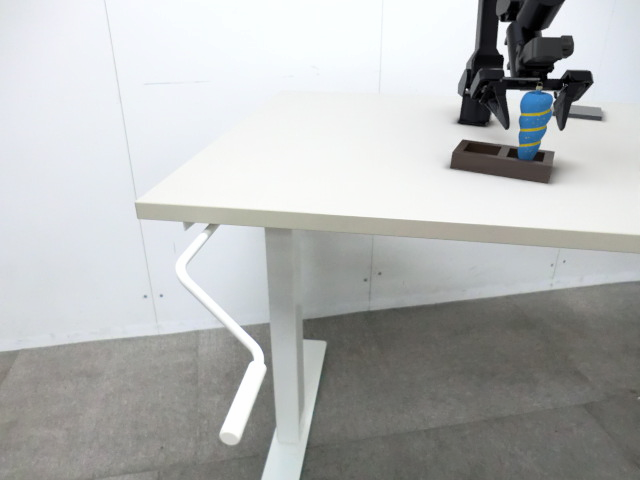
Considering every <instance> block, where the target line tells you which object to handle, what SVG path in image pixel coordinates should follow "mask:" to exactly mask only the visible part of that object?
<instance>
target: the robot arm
mask: <svg viewBox="0 0 640 480" xmlns="http://www.w3.org/2000/svg"><path fill="white" fill-rule="evenodd" d="M565 2H566V0H478V2H477V14H476V15H477V16H476V25H475V26H476V27H475V28H476V30H475V40H474V51H473V53H472V54H471V55H470V57H469V58H468V60H467V61H466V64H465V68H464V70H463V72H462V75H461V77H460V79H459V81H458V83H457V94H458V95H459V96H460V97H461V105H460V110H459V111H460V112H459V118H458V119H457V122H456V123H458V124H462V125H463V124H465V125H473V126H481V127H486V126H487V125H488V124H489V123H490V122H491V120H492V116H493V115H494V117H495V118H496V120H497V121H498V122H499V123H500V125H501V126H502V127H503V129H504V130H505V131H508V130H510V127H511V120H510V112H509V106H508V101H507V100H508V99H507V91H519V92H530V91H536V87H537V86H541V87H542V91H541V92H548V93H549V92H550V93H551V92H552V93H553V99H555V100H553V103H552V106H553V110H554V111H555V120H556V125H557V128H558V130H559V132H563V131H564V130H565V128H566V126H567V121H568V118H569V117H568V115H569V111H570V107H571V105H573V103H575V102H578V101H580V99H581V98H582V97H583V96H584V95H585V94H586V93H587V92H588V90H589V89H590V88H592V86H593V84H594V83H595V82H594V75H593V73H592V71H591V70H589V69H566V70H565V71H564V73H563V74H562V76H561V77H560V78H549V77H548V74H552V73H553V71H554V70H555V64H556V63H557V62H558V61H562V60H565V59H568V58H569V57H571V56H572V55H573V54H574V52H575V41H574V37H573V35H570V34H569V35H566V34H564V35H563V34H562V35H560V36H543V32H542V31H544V30H547V29H549V28H550V27H551V25H552V23H553V22H554V20H555V18H556V16H557V15H558V13H559V11H560V10H561V8H562V7H563V5H564V3H565ZM500 23H509V24H508V25H507V28H506V30H505V38H504V42H503V45H504V46H507V55H508V56H507V57H508V62H507V64H506V70H507V71H509V74H510V76H506V75H505V70H504V65H505V64H504V63H505V57H504V54H502V53H500V52H499V50H498V35H499V25H500ZM539 82H541V83H539ZM537 84H538V85H537Z"/></svg>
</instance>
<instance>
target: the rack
mask: <svg viewBox="0 0 640 480" xmlns="http://www.w3.org/2000/svg"><path fill="white" fill-rule="evenodd" d="M518 147H519V146H516V145H508V144H502V143H495V142H487V141H479V140H472V139H471V140H470V139H465V138H464V139H463V138H462V139H461V140H460V142H459V143H458V144H457V146H455V148H454V149H453V151H451V159H450V166H449V168H450V169H454V170H460V171H467V172H474V173H480V174H486V175H491V176H492V175H493V176H498V177H505V178H510V179H519V180H524V181H531V182H537V183H544V184H548V183H549V182H550V177H551V174H552V173H551V172H552V169H553V164H554V159H555V152H556V151H554V150H548V149H547V150H546V149H540V148H539V150H538V151H537V153H536V155H535V156H534V158H533V159H532V161H531V160H524V159H519V157H518Z"/></svg>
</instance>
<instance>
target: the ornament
mask: <svg viewBox="0 0 640 480" xmlns="http://www.w3.org/2000/svg"><path fill="white" fill-rule="evenodd" d="M539 83H541V82H539ZM537 85H538V84H537ZM553 103H554V95H552V94H551V93H549V92H547V91H542V87H541V86H537V87H536V91H526V92H525V93H524V95H523V96H522V97H521V100H520V103H519V110H520V115H519V118H518V125H519V129H520V130H519V131H518V146H517V147H518V157H519V159H524V160H531V161H532V159H533V158H534V156H535V155H536V153H537V151H538V150H539V149H540V147H541V145H542V140H543V138H544V136H545V135H546V133H547V130H548V123H549V121H551V119H552V116H553V109H552V108H551V107H552V106H553Z"/></svg>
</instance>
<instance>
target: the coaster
mask: <svg viewBox="0 0 640 480" xmlns="http://www.w3.org/2000/svg"><path fill="white" fill-rule="evenodd" d="M552 116H555V111H554V109H552ZM555 117H556V116H555ZM568 118H573V119H582V120H589V121H590V120H591V121H600V122H601V121H602V119H603V112H602V107H599V106H589V105H580V104H579V105H577V104H571V107H570V111H569V115H568Z"/></svg>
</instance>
